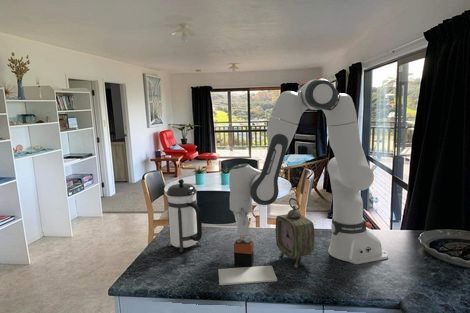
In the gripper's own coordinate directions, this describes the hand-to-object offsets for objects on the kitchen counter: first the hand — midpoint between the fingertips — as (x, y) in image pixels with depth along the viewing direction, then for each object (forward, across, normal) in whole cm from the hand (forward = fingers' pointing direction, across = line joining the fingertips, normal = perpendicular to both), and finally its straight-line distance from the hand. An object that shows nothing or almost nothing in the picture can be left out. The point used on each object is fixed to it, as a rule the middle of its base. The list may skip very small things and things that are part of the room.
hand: (241, 238), depth 131 cm
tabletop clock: (+8, -7, -20) cm, 22 cm away
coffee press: (+8, +12, +23) cm, 27 cm away
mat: (+8, -16, 0) cm, 17 cm away
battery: (+8, -7, 0) cm, 11 cm away
